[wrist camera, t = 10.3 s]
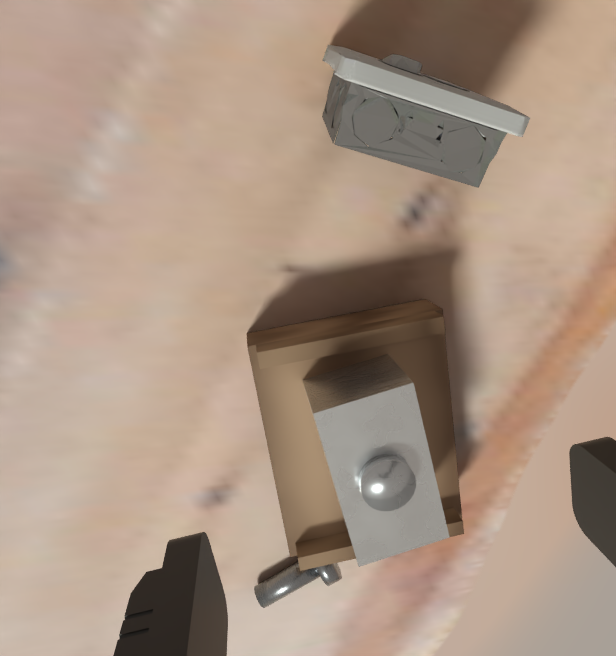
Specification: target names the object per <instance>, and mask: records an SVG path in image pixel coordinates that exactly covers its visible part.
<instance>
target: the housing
mask: <svg viewBox="0 0 616 656" xmlns="http://www.w3.org/2000/svg"><path fill="white" fill-rule="evenodd" d="M302 381H303V384H304V387H305V391H306V394H307V397H308V401H309V404H310V408H311V411H312V414H313V418H314V421H315V424H316V428H317V431H318V434H319V438H320V441H321V444H322V448H323V451H324V454H325V458H326V461H327V464H328V468H329V471H330V474H331V478H332V481H333V484H334V488H335V491H336V495H337V498H338V501H339V505H340V508H341V511H342V515H343V518H344V521H345V524H346V527H347V531H348V534H349V537H350V540H351V543H352V546H353V550H354V553H355V556H356V559H357V562H358V566H359V567H360V566H363V565H366V564H369V563H372V562H375V561H378V560H381V559H384V558H387V557H391V556H394V555H397V554H400V553H403V552H406V551H409V550H412V549H415V548H418V547H421V546H424V545H427V544H431V543H434V542H437V541H440V540H443V539H446V538H449V533H448V528H447V524H446V520H445V516H444V511H443V507H442V503H441V498H440V494H439V490H438V486H437V481H436V477H435V473H434V468H433V464H432V460H431V456H430V451H429V447H428V443H427V438H426V434H425V430H424V426H423V421H422V417H421V413H420V408H419V404H418V400H417V396H416V391H415V387H414V383H413V382H412V380H411V379H410V378H409V377H408V376H407V375H406V374H405V372H404V371H403V370H402V369H401V368H400V367H399V366H398V365H397V363H396V362H395V361H394V360H393V359H392V358H391V357H390V355H389V354H385V355H382V356H379V357H375V358H372V359H369V360H366V361H362V362H359V363H356V364H352V365H349V366H346V367H343V368H339V369H336V370H333V371H330V372H326V373H323V374H320V375H317V376H313V377H310V378H307V379H303V380H302Z"/></svg>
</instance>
